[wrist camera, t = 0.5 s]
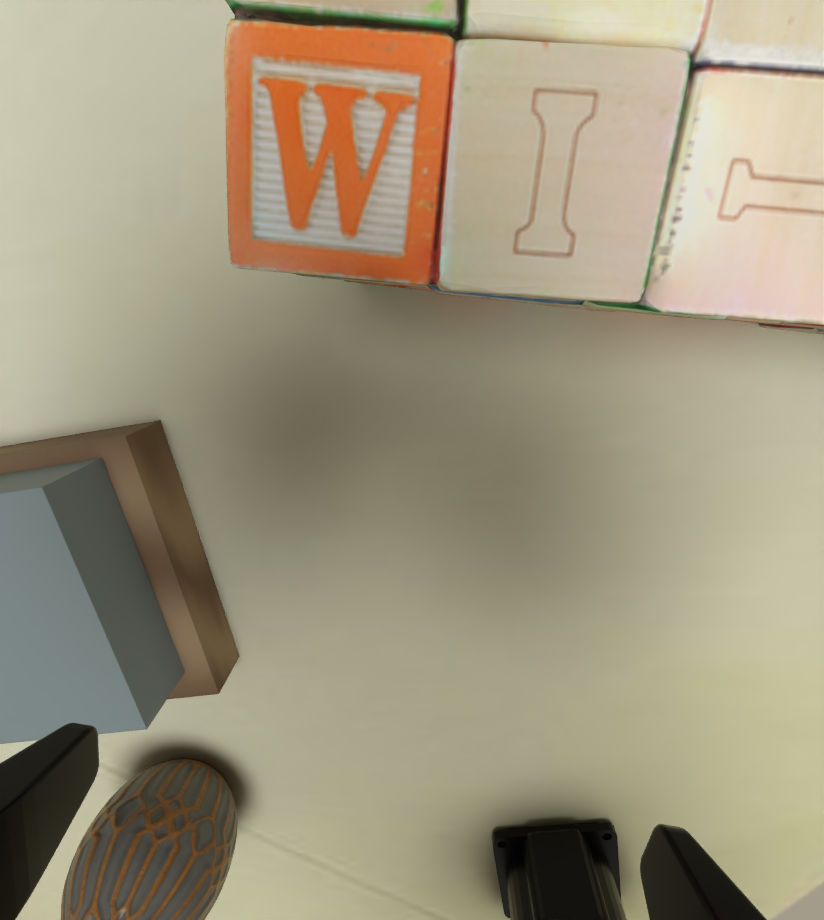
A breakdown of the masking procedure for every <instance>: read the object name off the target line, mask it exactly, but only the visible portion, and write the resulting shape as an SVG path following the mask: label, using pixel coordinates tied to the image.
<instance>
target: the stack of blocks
mask: <svg viewBox="0 0 824 920" xmlns="http://www.w3.org/2000/svg"><path fill="white" fill-rule="evenodd" d="M226 2H227V3H228V5H229V6H230V8H231V10H232V11H233V13H234V14H235V18H234V19H231V20H230V21H229V23H228V24H227V32H226V40H225V57H224V67H225V109H226V163H227V200H228V237H229V250H230V258H231V264H232V265H233V266H234V267H235V268H241V269H251V270H261V271H273V272H285V273H293V274H297V275H301V276H310V277H318V278H329V279H339V280H344V281H348V282H357V283H366V284H375V285H384V286H393V287H402V288H410V289H419V290H428V291H434V292H436V293H440V294H449V295H458V296H467V297H477V298H486V299H496V300H506V301H515V302H524V303H532V304H541V305H550V306H558V307H567V308H576V309H585V310H596V311H626V312H635V313H645V314H654V315H665V316H675V317H686V318H697V319H711V320H721V319H724V320H735V321H745V322H756V323H760V325H761V326H762V327H764V328H773V329H782V330H791V331H800V332H809V333H818V334H824V0H226Z"/></svg>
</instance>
